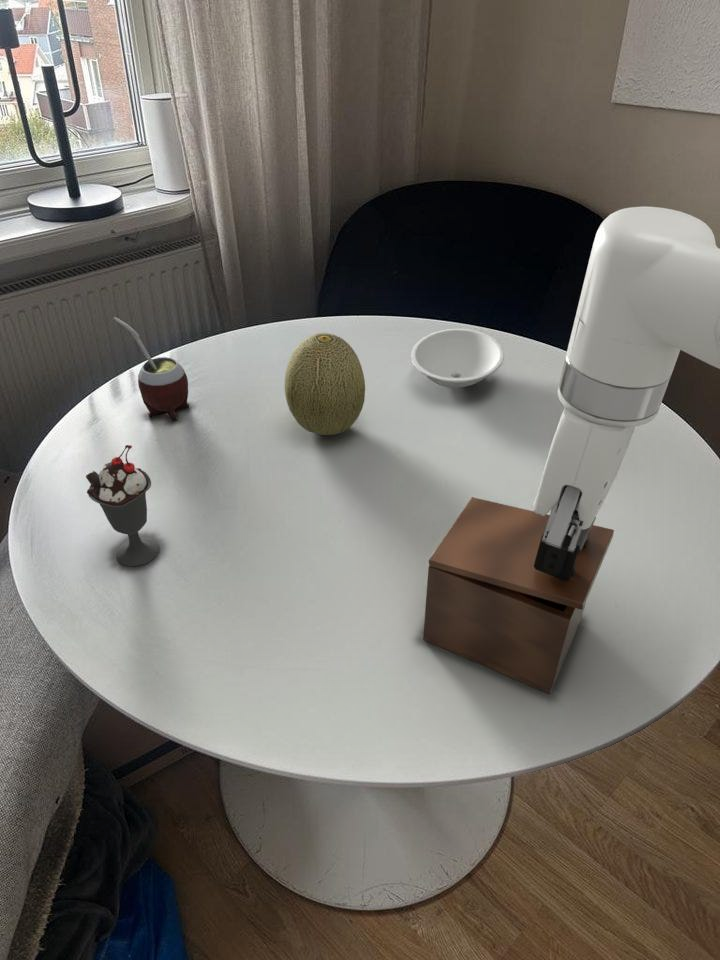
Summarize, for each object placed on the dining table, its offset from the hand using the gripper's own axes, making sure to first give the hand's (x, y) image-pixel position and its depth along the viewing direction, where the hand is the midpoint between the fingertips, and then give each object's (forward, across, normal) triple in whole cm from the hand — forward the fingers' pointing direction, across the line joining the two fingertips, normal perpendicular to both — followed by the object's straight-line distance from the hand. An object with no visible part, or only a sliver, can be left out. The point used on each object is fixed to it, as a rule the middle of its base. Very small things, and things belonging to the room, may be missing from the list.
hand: (561, 551), depth 64 cm
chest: (+14, 0, -3) cm, 14 cm away
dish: (+15, -45, -28) cm, 55 cm away
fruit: (+15, -23, -39) cm, 48 cm away
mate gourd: (+16, -15, -63) cm, 67 cm away
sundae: (+15, +10, -45) cm, 49 cm away
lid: (+2, 0, -4) cm, 4 cm away
